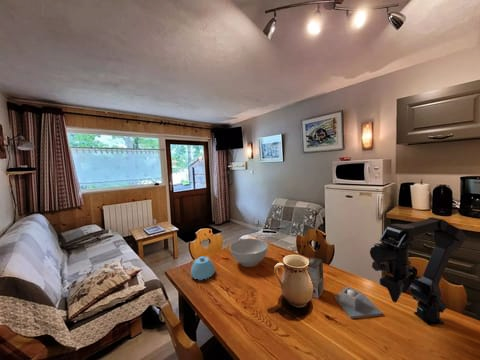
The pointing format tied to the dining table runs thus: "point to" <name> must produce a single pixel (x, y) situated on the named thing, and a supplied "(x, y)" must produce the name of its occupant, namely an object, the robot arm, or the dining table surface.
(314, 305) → the dining table surface
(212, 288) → the dining table surface
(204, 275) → the light blue dome
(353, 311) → the duct plate
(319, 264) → the coffee box
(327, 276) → the dining table surface
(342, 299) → the collar
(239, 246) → the decorative bowl
